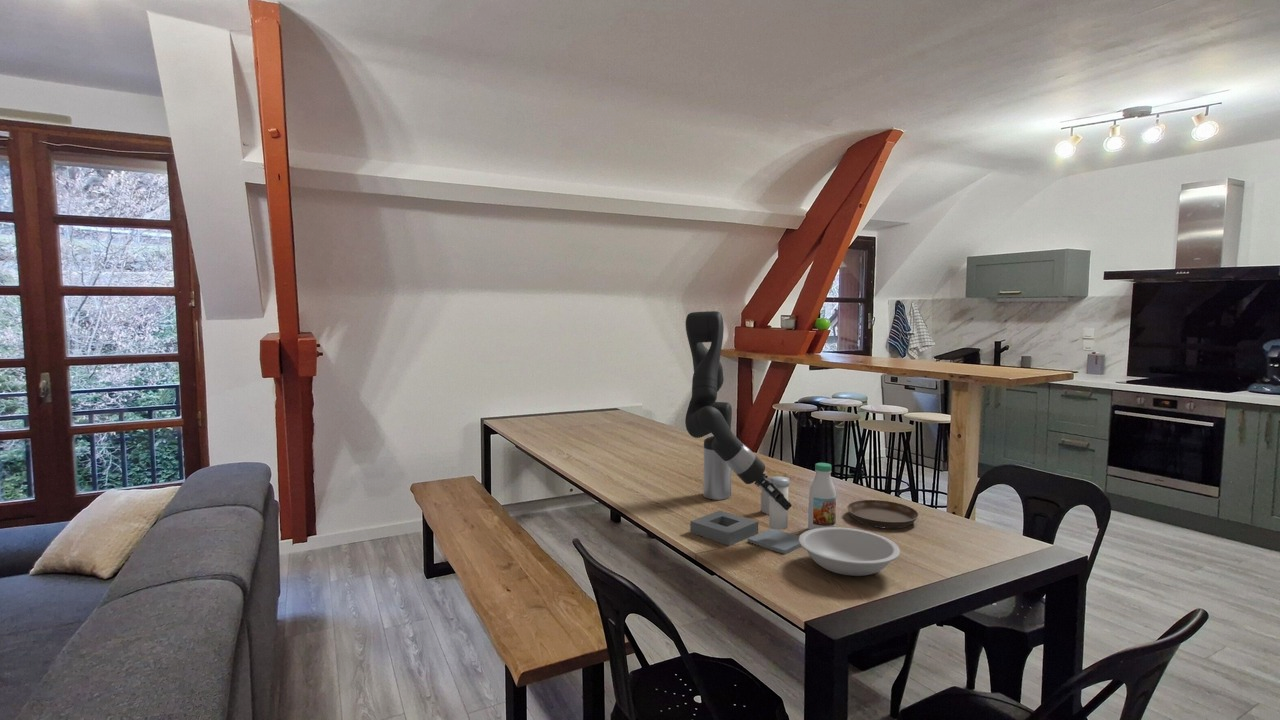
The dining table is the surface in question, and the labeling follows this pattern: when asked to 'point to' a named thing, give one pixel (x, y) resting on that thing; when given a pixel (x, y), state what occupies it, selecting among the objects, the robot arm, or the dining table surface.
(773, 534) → the mat
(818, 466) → the milk bottle
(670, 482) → the dining table surface
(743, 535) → the housing
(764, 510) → the white paper packet
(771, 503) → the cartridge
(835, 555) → the soup bowl
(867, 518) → the plant saucer
